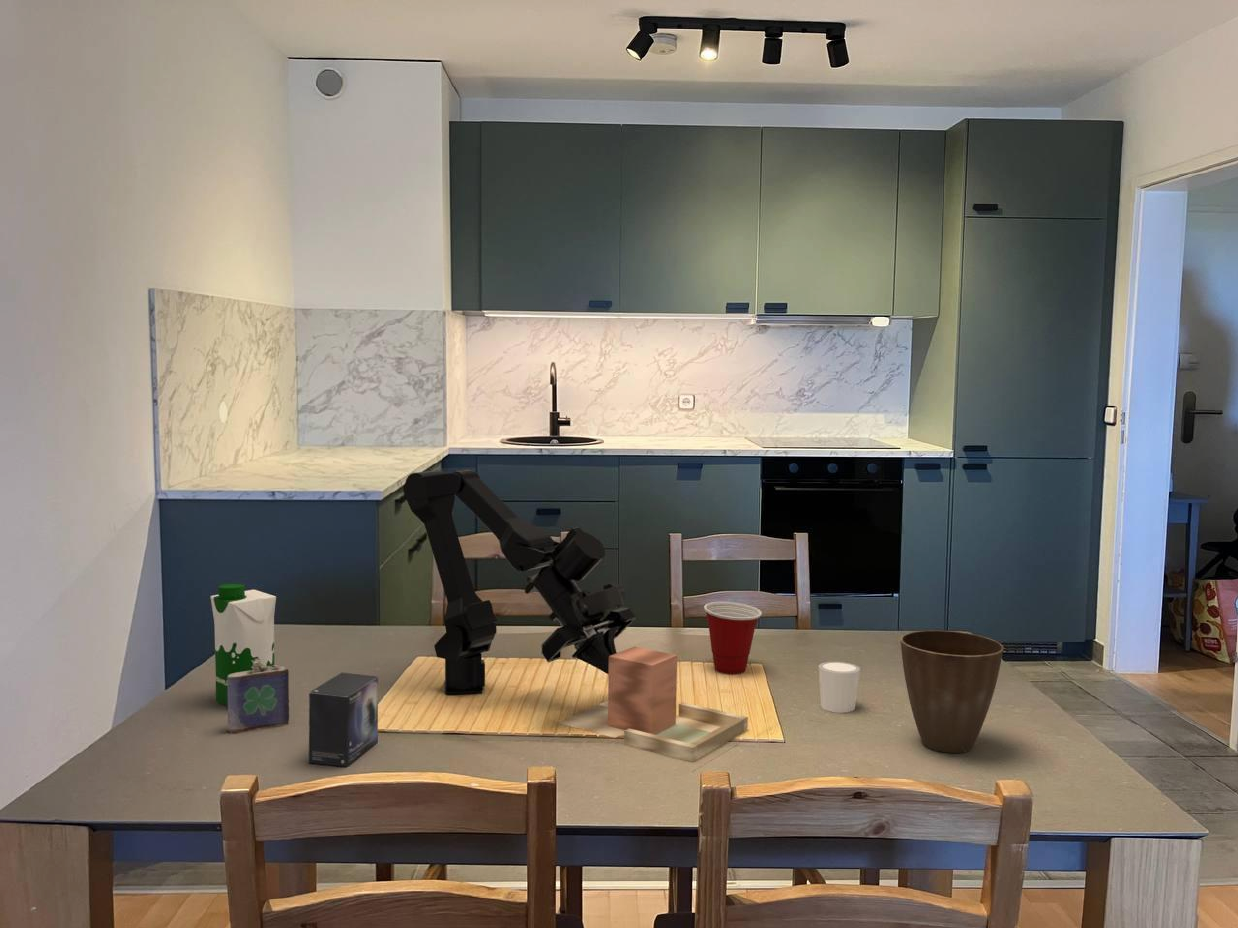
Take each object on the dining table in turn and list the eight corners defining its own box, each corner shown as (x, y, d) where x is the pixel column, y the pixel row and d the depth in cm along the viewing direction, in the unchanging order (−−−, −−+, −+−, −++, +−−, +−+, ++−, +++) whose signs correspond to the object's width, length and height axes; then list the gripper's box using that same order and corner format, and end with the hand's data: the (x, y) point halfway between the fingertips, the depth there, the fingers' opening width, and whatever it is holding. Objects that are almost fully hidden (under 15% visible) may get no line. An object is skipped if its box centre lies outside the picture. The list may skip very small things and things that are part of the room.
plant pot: (886, 726, 170) (890, 628, 169) (980, 728, 170) (985, 630, 168) (909, 761, 156) (913, 654, 154) (1012, 764, 155) (1017, 656, 154)
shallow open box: (552, 733, 165) (552, 711, 164) (613, 706, 178) (613, 686, 178) (692, 771, 150) (692, 747, 150) (747, 739, 164) (747, 716, 163)
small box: (349, 768, 150) (348, 695, 149) (306, 764, 151) (305, 692, 150) (380, 742, 160) (380, 674, 159) (340, 738, 162) (340, 671, 161)
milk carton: (207, 701, 178) (205, 583, 176) (258, 689, 184) (256, 575, 182) (233, 713, 172) (230, 591, 170) (284, 701, 178) (282, 583, 176)
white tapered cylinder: (862, 704, 181) (864, 664, 181) (853, 716, 175) (855, 674, 174) (822, 698, 184) (824, 658, 183) (812, 709, 178) (814, 669, 177)
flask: (229, 734, 163) (228, 665, 162) (225, 728, 165) (224, 661, 164) (291, 724, 167) (290, 658, 166) (286, 719, 170) (285, 653, 169)
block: (607, 725, 164) (608, 656, 163) (633, 713, 170) (634, 646, 169) (651, 736, 160) (652, 665, 159) (675, 724, 165) (677, 655, 164)
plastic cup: (745, 682, 193) (746, 617, 191) (692, 672, 198) (693, 609, 197) (769, 668, 202) (771, 605, 201) (718, 658, 207) (719, 598, 206)
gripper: (556, 576, 160) (615, 660, 155) (626, 558, 176) (682, 634, 170) (516, 620, 166) (572, 702, 160) (588, 599, 181) (641, 674, 176)
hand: (619, 676), depth 167 cm, fingers closed, pressing on block
